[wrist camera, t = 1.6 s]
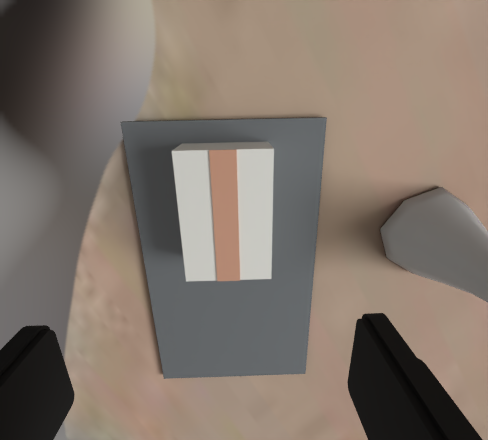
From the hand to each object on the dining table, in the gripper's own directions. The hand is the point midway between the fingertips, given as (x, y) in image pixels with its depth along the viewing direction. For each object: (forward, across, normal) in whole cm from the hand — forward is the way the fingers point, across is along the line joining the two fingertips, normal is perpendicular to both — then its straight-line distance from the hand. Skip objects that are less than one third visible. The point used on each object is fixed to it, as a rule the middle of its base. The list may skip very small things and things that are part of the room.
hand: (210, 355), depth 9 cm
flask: (+15, -16, +2) cm, 22 cm away
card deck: (+14, 0, -1) cm, 14 cm away
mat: (+14, 0, +5) cm, 15 cm away
